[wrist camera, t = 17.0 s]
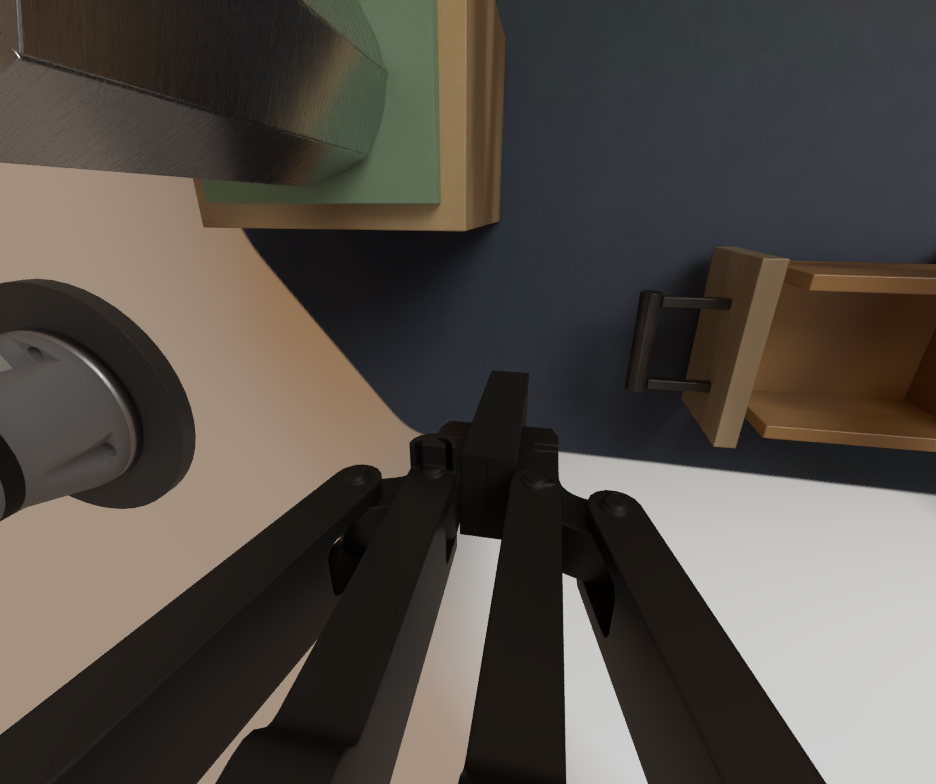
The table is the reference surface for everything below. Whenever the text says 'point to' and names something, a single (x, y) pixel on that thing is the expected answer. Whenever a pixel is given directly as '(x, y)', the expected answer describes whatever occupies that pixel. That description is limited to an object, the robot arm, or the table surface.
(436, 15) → the mat
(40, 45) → the metal cup
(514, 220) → the table surface
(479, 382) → the table surface
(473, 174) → the stand
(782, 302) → the drawer
